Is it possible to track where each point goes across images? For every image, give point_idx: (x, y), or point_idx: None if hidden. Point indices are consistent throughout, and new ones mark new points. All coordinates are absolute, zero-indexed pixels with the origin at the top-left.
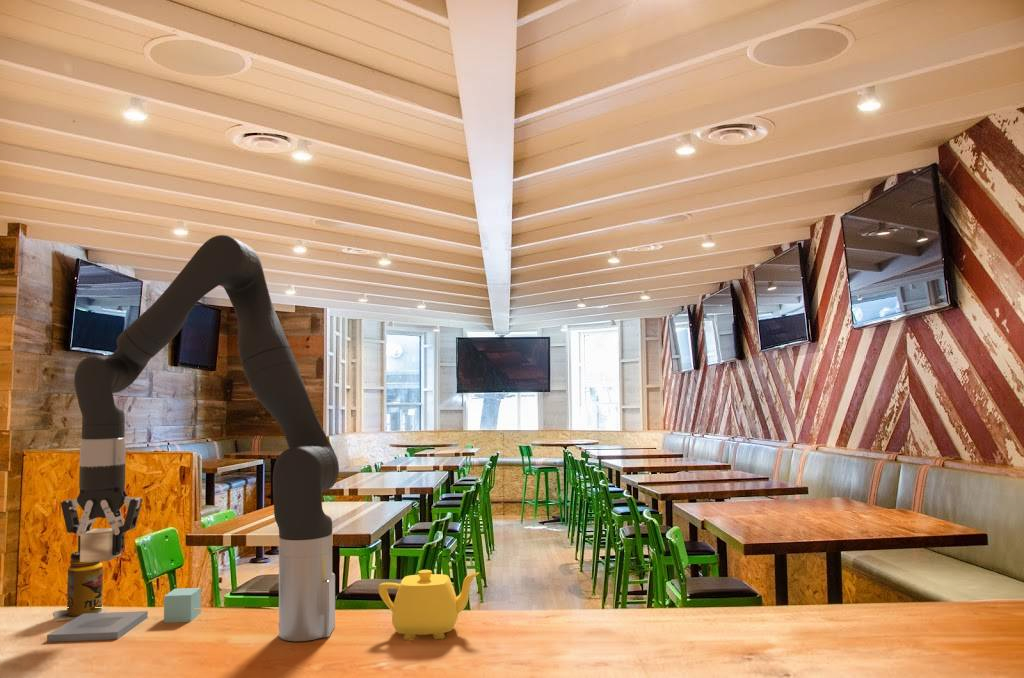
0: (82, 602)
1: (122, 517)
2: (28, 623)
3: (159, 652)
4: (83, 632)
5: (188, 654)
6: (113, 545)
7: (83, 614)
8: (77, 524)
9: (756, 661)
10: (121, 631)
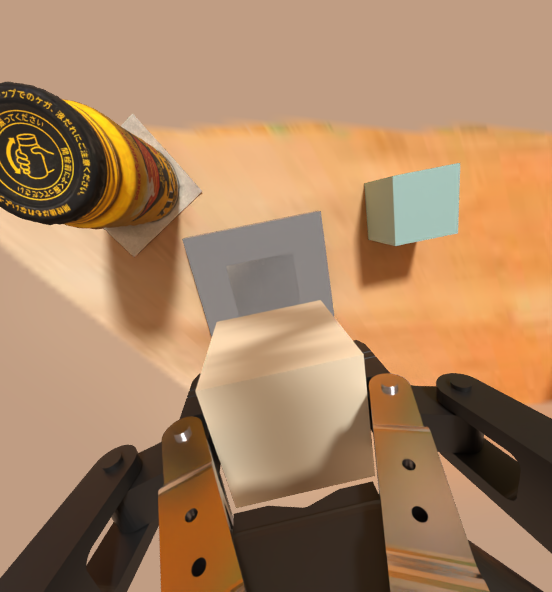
0: (154, 218)
1: (428, 437)
2: (81, 268)
3: (428, 368)
4: None
5: (471, 370)
6: None
7: (188, 245)
8: (120, 492)
9: None
10: None
